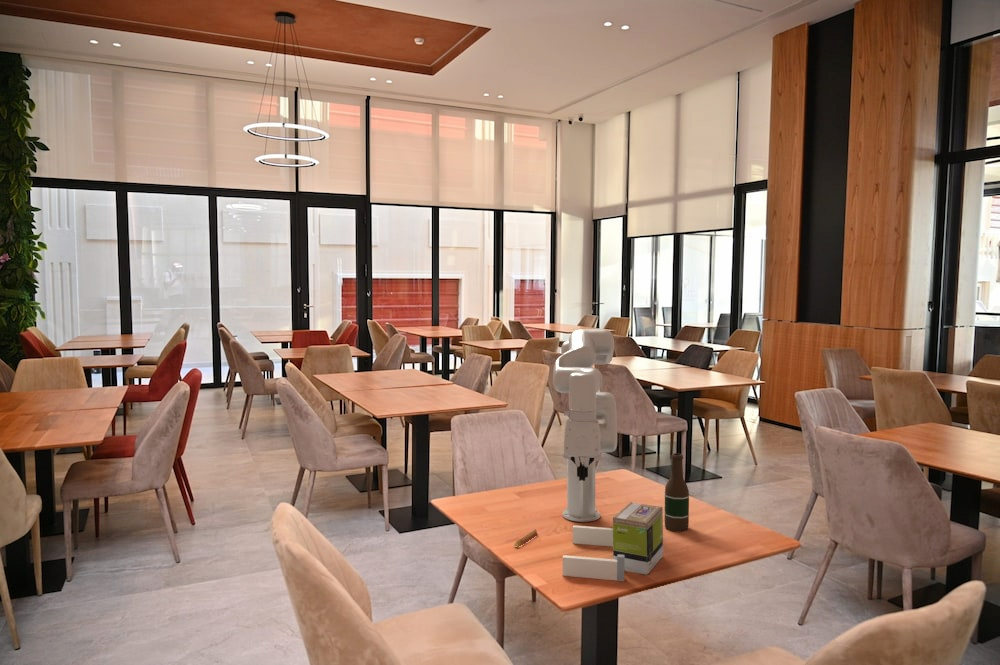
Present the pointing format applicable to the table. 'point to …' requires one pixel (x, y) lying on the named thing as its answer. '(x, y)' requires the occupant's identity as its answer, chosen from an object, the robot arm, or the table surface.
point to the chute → (593, 566)
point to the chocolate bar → (526, 538)
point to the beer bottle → (676, 498)
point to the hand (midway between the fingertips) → (582, 479)
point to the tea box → (638, 537)
